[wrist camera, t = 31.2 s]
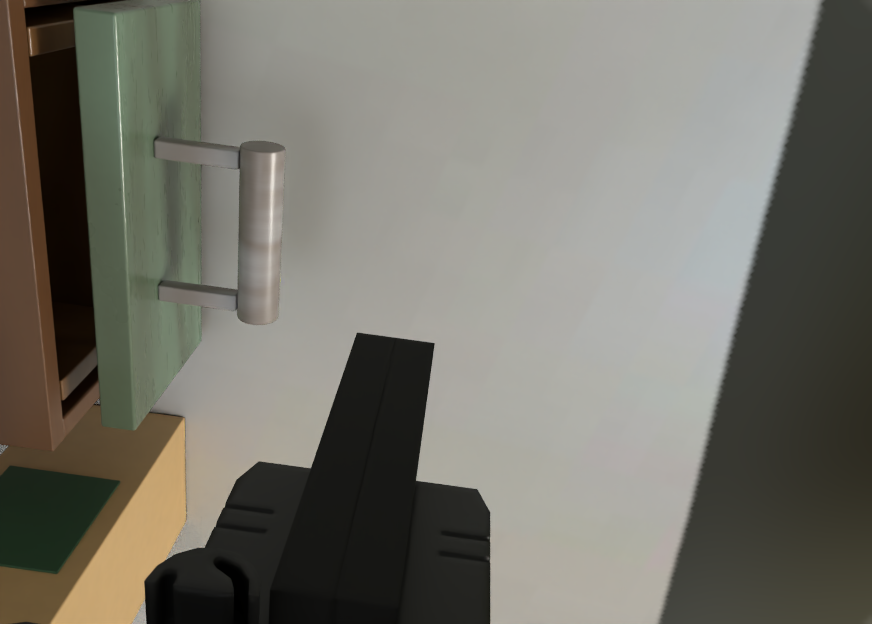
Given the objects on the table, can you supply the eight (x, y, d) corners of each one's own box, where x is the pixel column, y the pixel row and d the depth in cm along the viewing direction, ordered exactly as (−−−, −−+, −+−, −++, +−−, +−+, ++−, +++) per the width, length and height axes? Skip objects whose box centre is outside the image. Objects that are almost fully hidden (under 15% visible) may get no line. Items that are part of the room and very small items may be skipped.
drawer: (318, 15, 27) (268, 34, 21) (299, 355, 33) (255, 448, 26) (-243, -63, 27) (-460, -67, 21) (-165, 290, 33) (-317, 368, 26)
